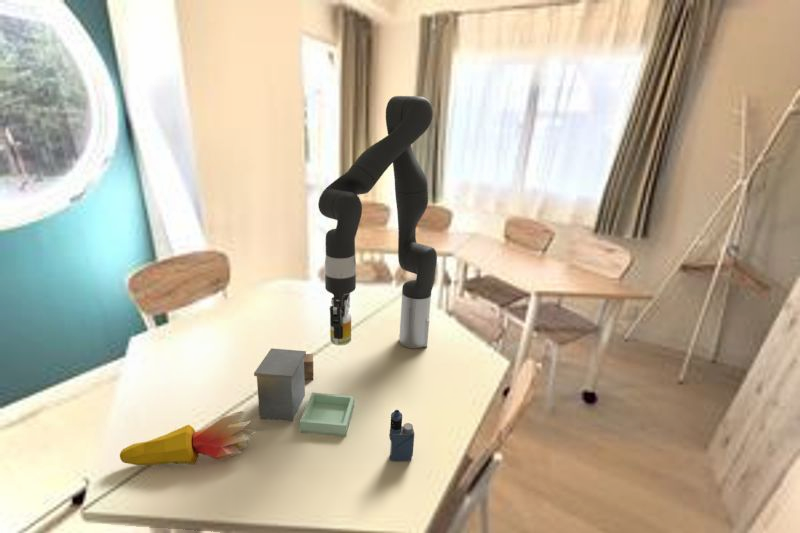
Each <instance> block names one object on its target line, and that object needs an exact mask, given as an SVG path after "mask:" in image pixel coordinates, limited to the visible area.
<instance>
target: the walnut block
mask: <svg viewBox="0 0 800 533" xmlns="http://www.w3.org/2000/svg"><path fill="white" fill-rule="evenodd" d="M304 377H305V382H308V381H309V382H310V381H314V353H306V355H305V357H304Z"/></svg>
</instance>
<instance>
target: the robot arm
mask: <svg viewBox="0 0 800 533" xmlns="http://www.w3.org/2000/svg"><path fill="white" fill-rule="evenodd" d="M386 104H387V105H386V107H385V123H386V124H385V125H386V130H387V135H386V136H385V137H384V138H382V139H381V140H379V141H377V142H375V143H374V144H372V145H371V146H369V147H368V148H367V149H365V150H364V151H363V152H362V153H361V154H360V155H359V157H358V158H356V160H354V162H353V164H352V165H351V166H350V168H349V169H348V170H347V171H346V172H345V173H343V174H342V175H341V176H339V177H338V178H336V179H335V180H334V181H333V182H331V183H330V184H329V185H328V186H327V187H326V188H325V189H324V190H323V191H322V192H321V194H320V196H319V199H318V210H319V212H320V214H321V215H322V216H324V217H325V218H328V219H331V220H335V221H337V223H336V227H335V228H332V229H329V230H328V231H327V232H326V234H325V257H324V258H325V260H324V281H325V282H324V285H325V286H324V287H325V288H324V289H325V290H326V292H328V293H329V294H332V295H333V297H331V299H330V300H331V301H330V304H331V305H330V306H329V316H330V317H329V319H330V318H331V327H334V338H335V339H342V338H343V324H344V323H343V320H344V317H345V316H346V306H348V308H349V309H350V307H351V304H350V300H351V293H353V292H355V290H356V289H357V288H356V287H357V284H356V283H357V279H356V278H357V262H356V236H357V233H358V230H359V226H360V222H361V219H362V214H363V205H362V201H361V198H360V197H359V195H364V194H368V193H369V192H370V191H371V190H372V189H373V188H374V187H375V185H376V184H377V182H379V180H380V179H381V177H382V176H383V174H384V173H385V172H386V171H387V170H388V169H389V167H390V166H391V165H392V168H393V176H394V177H393V178H394V191H395V192H394V194H395V203H396V204H395V205H396V210H397V227H398V231H397V232H398V236H397V238H398V239H397V241H398V243H397V244H398V245H397V258H398V264H399V267H400V268H401V270H403V271H406V272H409V273H411V274H415V275H416V279H413V280H408V281H406V282H404V283H403V284H402V290H401V291H402V292H401V304H400V305H401V308H400V324H399V336H398V338H399V343H400V345H402V346H403V347H406V348H409V349H421V348H427V347H428V342H429V341H428V340H429V330H430V329H429V328H430V314H431V313H430V310H431V300H432V291H433V288H434V284H435V277H436V268H437V263H438V254H437V250H436V249H435V248H434V247H432V246H428V245H425V244H422V243H418V242H417V238H416V232H417V226H418V224H419V222H420V221H421V219H422V217H423V215H424V214H425V211H426V210H427V207H428V205H429V192H428V190H429V189H428V188H429V187H428V180H427V177H426V174H425V173H424V170H423V168H422V167H421V165H420V163H419V161H418V159H417V157H416V156H415V154H414V151H413V147H412V144H414V143H415V142H416V141H417V140H418V139H419V138H420V137H422V135H424V133H426V131H427V130H428V129H429V127H430V126H431V124H432V121H433V116H434V114H433V106H432V104H431V102H430V101H429V99H427V98H426V97H423V96H420V95H419V96H417V95H411V96H410V95H395V96H392V97H391V98H390V99H389V100H388V102H387V103H386ZM341 311H343V313H341ZM349 312H350V310H349V311H348V313H349ZM336 320H338V321H336Z"/></svg>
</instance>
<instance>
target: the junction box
mask: <svg viewBox="0 0 800 533" xmlns="http://www.w3.org/2000/svg"><path fill="white" fill-rule="evenodd" d="M306 354H307V352H306V350H295V349H294V350H293V349H284V348H283V349H282V348H270V350H269V351H268V353H267V354H266V355H265V356H264V358H263V360H262V361H261V362H260V363H259V365H258V366H257V368H256V369H255V370H254V372H253V376H254V377H256V383H257V399H258V412H259V419H262V420H263V419H264V420H276V421H284V422H294V420H295V419H296V416H297V414H298V411H299V409H300V407H301V406H302V405H301V404H302V403H303V400H304V398H305V395H306V384H305V383H306V381H305V377H304V357H305V355H306Z"/></svg>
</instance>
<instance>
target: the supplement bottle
mask: <svg viewBox="0 0 800 533" xmlns="http://www.w3.org/2000/svg"><path fill="white" fill-rule="evenodd" d="M348 311H349V312H350V307H349V308H348V306H346V316H345V317H344V320H343V323H344V324H343V338H342V339H335V338H334V327H331V318H330V317H329V325H330V326H329V327H330V330H329V334H330V335H329V336H330V342H331V344H333V345H334V346H346V345H348V344H350V343H351V341H352V316H351V314H350V313H349V312H348ZM341 313H343V311H341ZM336 321H338V320H336Z"/></svg>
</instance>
